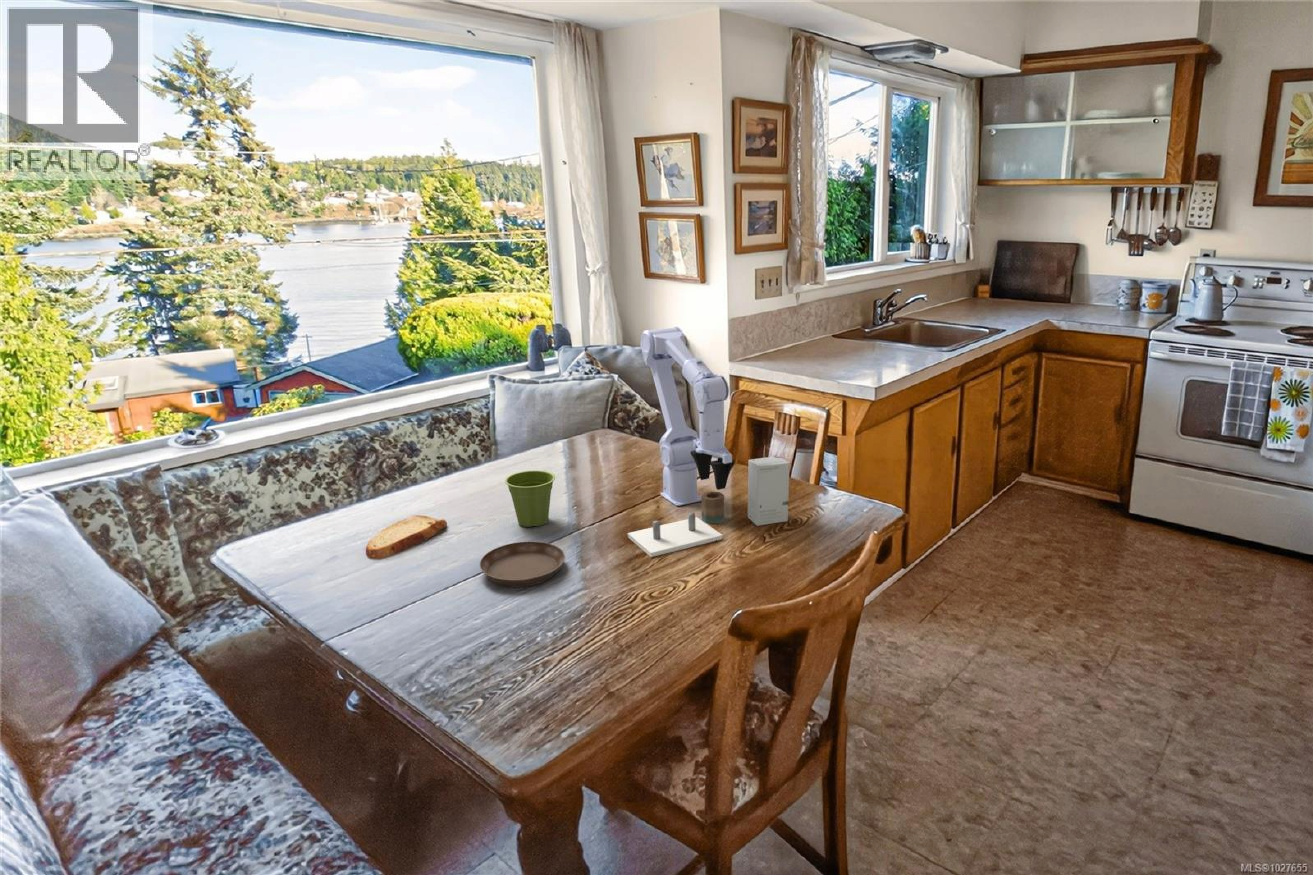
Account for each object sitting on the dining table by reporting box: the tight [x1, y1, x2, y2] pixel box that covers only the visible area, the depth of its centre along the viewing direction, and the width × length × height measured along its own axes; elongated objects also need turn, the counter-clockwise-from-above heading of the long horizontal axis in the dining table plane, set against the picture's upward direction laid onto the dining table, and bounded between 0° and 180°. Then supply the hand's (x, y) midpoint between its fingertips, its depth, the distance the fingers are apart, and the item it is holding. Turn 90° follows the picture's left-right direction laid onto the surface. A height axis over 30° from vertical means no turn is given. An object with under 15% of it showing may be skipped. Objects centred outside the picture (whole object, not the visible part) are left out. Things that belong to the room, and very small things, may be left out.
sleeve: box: [700, 491, 725, 524], centre depth 186 cm, size 5×5×6 cm
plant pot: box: [504, 469, 556, 528], centre depth 187 cm, size 12×12×11 cm
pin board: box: [627, 511, 724, 558], centre depth 176 cm, size 12×18×5 cm, turn 116°
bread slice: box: [365, 514, 448, 560], centre depth 181 cm, size 18×18×4 cm
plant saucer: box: [479, 540, 566, 588], centre depth 164 cm, size 18×18×3 cm
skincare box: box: [747, 456, 790, 527], centre depth 183 cm, size 8×6×15 cm
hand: (712, 483), depth 184 cm, fingers open, 7 cm apart
